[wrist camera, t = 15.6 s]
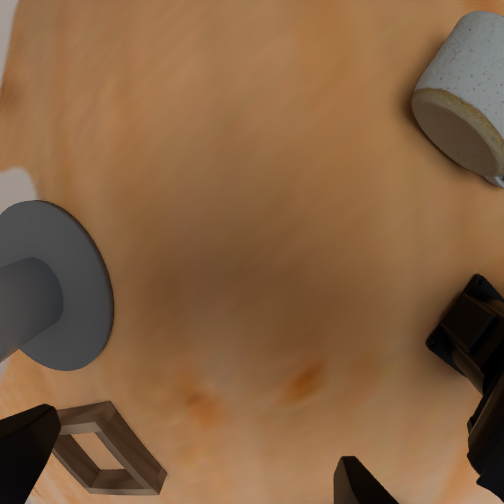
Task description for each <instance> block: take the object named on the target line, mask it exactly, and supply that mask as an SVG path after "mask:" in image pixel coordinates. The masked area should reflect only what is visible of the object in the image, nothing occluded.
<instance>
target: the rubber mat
mask: <svg viewBox="0 0 504 504" xmlns="http://www.w3.org/2000/svg"><path fill="white" fill-rule="evenodd" d="M27 257H35V258H38V259H40V260H42V261H43V262H45V263H46V264H47V265H48V266H49V267H50V268H51V270H52V271H53V272H54V274H55V275H56V277H57V279H58V281H59V284H60V286H61V290H62V294H63V311H62V314H61V317H60V318H59V320H58V321H57V322H56V323H54V324H53V325H52V326H50V327H49V328H47V329H46V330H45V331H43V332H42V333H40V334H39V335H38V336H36V337H35V338H33V339H32V340H31V341H29V342H28V343H27V344H25V345H24V346H22V347H21V348H20V350H22V351H23V352H24V353H25V354H26V355H27V356H29V357H30V358H31V359H33V360H34V361H36V362H38V363H40V364H41V365H44V366H46V367H48V368H52V369H55V370H62V371H71V370H76V369H80V368H82V367H84V366H86V365H88V364H89V363H90V362H92V361H93V360H94V359H95V358H96V357H97V356H98V354H99V353H100V352H101V351H102V350H103V348H104V347H105V345H106V343H107V341H108V339H109V336H110V333H111V329H112V325H113V315H114V307H113V295H112V288H111V284H110V279H109V276H108V273H107V269H106V266H105V264H104V261H103V259H102V257H101V254H100V252H99V250H98V249H97V247H96V245H95V243H94V241H93V240H92V238H91V237H90V235H89V234H88V233H87V231H86V230H85V229H84V228H83V226H82V225H81V224H80V223H79V222H78V221H77V220H76V219H75V218H74V217H73V216H72V215H71V214H69V213H68V212H67V211H65V210H64V209H62V208H61V207H59V206H57V205H55V204H52V203H49V202H46V201H39V200H33V201H24V202H20V203H17V204H14V205H12V206H10V207H9V208H7V209H6V210H5V211H4V212H2V214H1V215H0V268H1V267H3V266H6V265H8V264H11V263H14V262H16V261H19V260H21V259H24V258H27Z"/></svg>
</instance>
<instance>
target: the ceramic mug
mask: <svg viewBox="0 0 504 504" xmlns="http://www.w3.org/2000/svg"><path fill="white" fill-rule="evenodd" d="M411 105H412V110H413V113H414V116H415V118H416V120H417V122H418V124H419V126H420V127H421V129H422V130H423V131H424V133H425V134H426V135H427V136H428V137H429V139H430V140H431V141H432V142H433V143H434V144H435V145H436V146H437V147H438V148H439V149H440V150H442V151H443V152H444V153H445V154H446V155H447V156H448V157H450V158H451V159H453V160H454V161H455V162H457V163H458V164H460V165H461V166H463V167H464V168H466V169H468V170H470V171H472V172H474V173H477V174H479V175H482V176H484V177H485V178H486V179H487V180H488V181H489V182H491V183H493V184H495V185H496V186H498V187H501V188H504V16H501V15H499V14H496V13H492V12H486V11H475V12H471V13H468V14H466V15H465V16H463V17H462V18H461V19H460V20H459V21H458V22H457V24H456V25H455V27H454V29H453V30H452V32H451V33H450V35H449V36H448V38H447V39H446V40H445V42H444V43H443V45H442V46H441V48H440V49H439V51H438V52H437V54H436V56H435V57H434V59H433V60H432V61H431V63H430V64H429V65H428V67H427V68H426V70H425V71H424V72H423V74H422V75H421V77H420V79H419V80H418V83H417V85H416V87H415V89H414V92H413V95H412V102H411ZM498 176H500V177H498Z"/></svg>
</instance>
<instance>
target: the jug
mask: <svg viewBox="0 0 504 504" xmlns="http://www.w3.org/2000/svg"><path fill="white" fill-rule="evenodd" d="M62 311H63V294H62V290H61V286H60V284H59V281H58V279H57V277H56V275H55V274H54V272H53V271H52V270H51V268H50V267H49V266H48V265H47V264H46V263H45V262H43V261H42V260H40V259H38V258H35V257H27V258H24V259H21V260H19V261H16V262H14V263H11V264H8V265H6V266H3V267H1V268H0V363H1V362H2V361H4V360H5V359H6V358H8V357H9V356H10V355H12V354H13V353H14V352H16V351H17V350H18V349H20V348H21V347H22V346H24V345H25V344H27V343H28V342H29V341H31V340H32V339H33V338H35V337H36V336H38V335H39V334H40V333H42V332H43V331H45V330H46V329H47V328H49V327H50V326H52V325H53V324H54V323H56V322H57V321H58V320H59V318H60V317H61V314H62Z"/></svg>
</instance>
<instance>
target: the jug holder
mask: <svg viewBox="0 0 504 504" xmlns="http://www.w3.org/2000/svg"><path fill="white" fill-rule="evenodd" d="M57 413H58V417H59V419H60V422H61V431H60V434H59V436H58V438H57V441H56V443H55V445H54V447H53V450H52V453H53V455H54V456H55V457H56V458H57V459H58V460H59V462H60V463H61V464H62V465H63V466H64V467H65V468H66V469H67V470H68V472H69V473H70V474H71V475H72V476H73V477H74V478H75V479H76V480H77V481H78V482H79V483H80V484H81V485H82V486H83V487H84V488H85V489H86V490H87V491H88V492H89V493H91V494H107V495H159V494H160V491H161V489H162V486H163V483H164V481H165V478H166V475H167V472H166V471H165V470H164V469H163V468H162V467H161V466H160V465H159V463H158V462H157V461H156V460H155V459H154V458H153V456H152V455H151V454H150V453H149V452H148V450H147V449H146V448H145V447H144V445H143V444H142V443H141V442H140V441H139V439H138V438H137V437H136V435H135V434H134V433H133V432H132V430H131V429H130V428H129V426H128V425H127V424H126V422H125V421H124V420H123V418H122V417H121V416H120V414H119V413H118V412H117V410H116V409H115V407H114V406H113V404H112V403H111V402H110V401H108V402H103V403H98V404H93V405H87V406H82V407H76V408H70V409H64V410H57ZM90 432H94V433H95V434H96V435H97V436H98V438H99V439H100V440H101V441H102V442H103V444H104V445H105V446H106V447H107V449H108V450H109V451H110V452H111V453H112V454H113V456H114V457H115V458H116V459H117V460H118V461H119V462H120V464H121V465H122V466H123V467H124V468H125V469H126V470H100V469H99V468H98V467H97V466H96V465H95V464H94V463H93V461H92V460H91V459H90V458H89V457H88V456H87V455H86V453H85V452H84V451H83V450H82V449H81V447H80V446H79V445H78V444H77V443H76V441H75V440H74V439H73V438H72V436H71V435H70V434H79V433H90Z"/></svg>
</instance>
